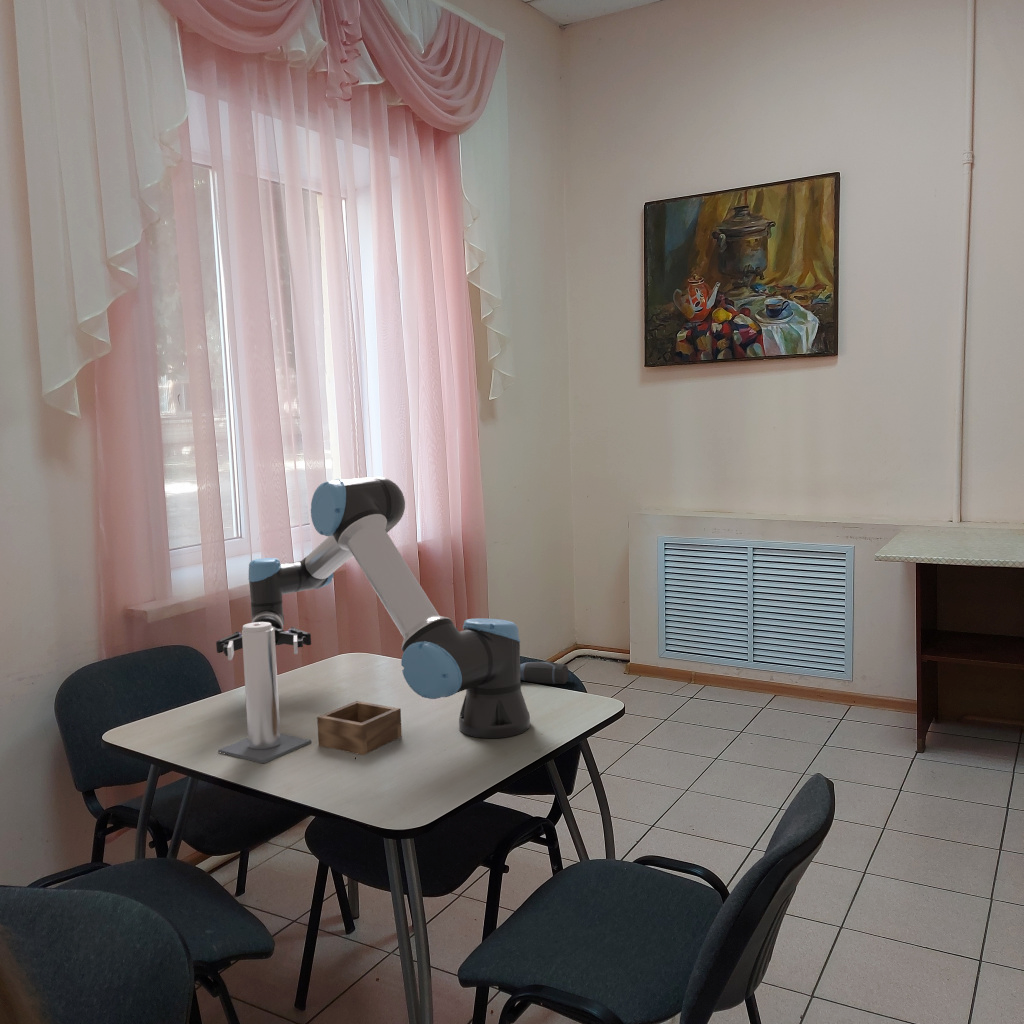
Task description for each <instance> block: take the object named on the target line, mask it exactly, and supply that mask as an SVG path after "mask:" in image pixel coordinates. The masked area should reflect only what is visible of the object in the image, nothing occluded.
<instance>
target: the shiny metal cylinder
mask: <svg viewBox="0 0 1024 1024" xmlns="http://www.w3.org/2000/svg"><path fill="white" fill-rule="evenodd" d="M241 635H242V642H243V648H242V655H243V657H242V659H243V675H244V676H243V677H244V691H245V704H246V706H245V707H246V708H245V709H246V724H247V726H246V727H247V738H248V743H249V744H248V747H249V748H251V749H254V750H265V749H271V748H274V747H277V746H278V745H280V744H281V737H280V733H281V723H280V709H279V708H280V703H279V690H278V689H279V688H278V687H279V686H278V670H277V669H278V667H277V655H276V654H277V650H276V649H277V648H276V647H277V646H275V629H274V627H273V626H271V623H269V622H254V623H252V622H249V623H246V624H243V625H242V630H241Z"/></svg>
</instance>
